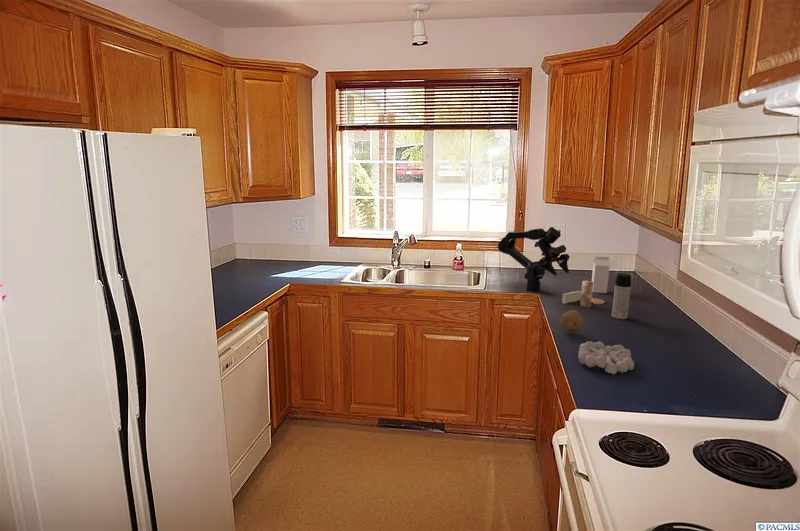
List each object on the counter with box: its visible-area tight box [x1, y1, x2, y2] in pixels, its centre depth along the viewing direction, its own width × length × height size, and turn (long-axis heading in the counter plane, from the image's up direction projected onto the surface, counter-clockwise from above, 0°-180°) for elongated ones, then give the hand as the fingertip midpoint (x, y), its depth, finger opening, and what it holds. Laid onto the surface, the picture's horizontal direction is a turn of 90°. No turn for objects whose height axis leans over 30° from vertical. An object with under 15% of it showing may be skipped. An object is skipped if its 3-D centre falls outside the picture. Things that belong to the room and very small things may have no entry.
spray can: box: [611, 272, 632, 320], centre depth 241 cm, size 7×7×20 cm
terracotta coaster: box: [591, 297, 606, 305], centre depth 267 cm, size 9×9×1 cm
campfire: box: [577, 340, 635, 375], centre depth 190 cm, size 22×21×6 cm
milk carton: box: [591, 256, 610, 294], centre depth 285 cm, size 7×7×19 cm
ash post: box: [579, 280, 593, 308], centre depth 258 cm, size 5×5×12 cm
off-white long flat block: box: [561, 290, 582, 305], centre depth 266 cm, size 12×2×5 cm, turn 124°
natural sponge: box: [560, 309, 585, 335], centre depth 218 cm, size 9×9×10 cm
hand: (562, 274), depth 270 cm, fingers open, 9 cm apart
